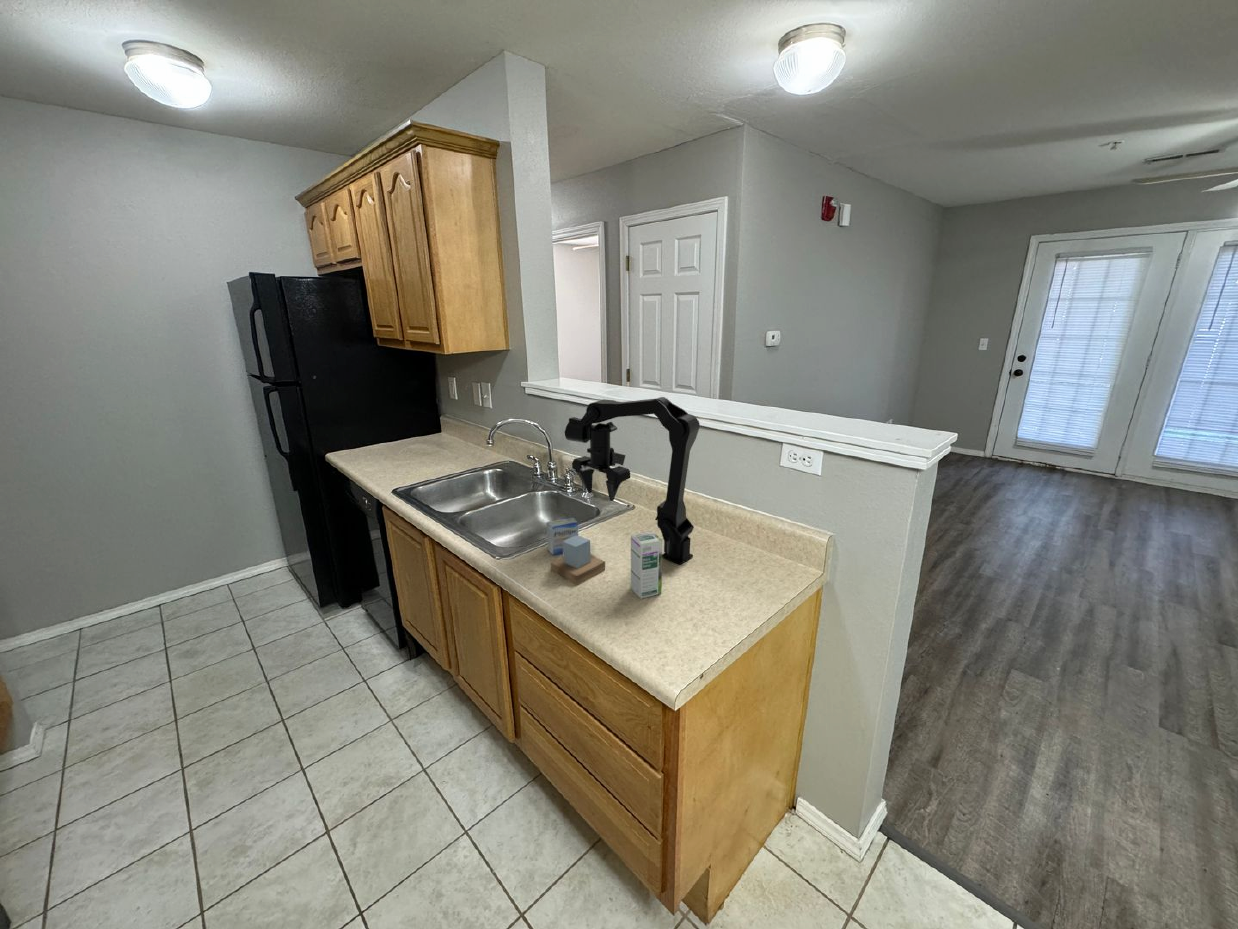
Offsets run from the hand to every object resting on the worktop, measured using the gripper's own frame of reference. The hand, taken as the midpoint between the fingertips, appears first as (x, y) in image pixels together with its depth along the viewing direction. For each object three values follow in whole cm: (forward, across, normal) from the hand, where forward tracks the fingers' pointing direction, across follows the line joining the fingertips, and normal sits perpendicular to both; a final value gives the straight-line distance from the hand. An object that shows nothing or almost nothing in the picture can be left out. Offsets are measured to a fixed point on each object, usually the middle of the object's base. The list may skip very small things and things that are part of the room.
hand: (600, 496), depth 146 cm
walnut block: (+14, -10, +18) cm, 25 cm away
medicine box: (+13, +2, +13) cm, 19 cm away
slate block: (+10, -10, +18) cm, 23 cm away
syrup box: (+13, -29, +13) cm, 34 cm away
